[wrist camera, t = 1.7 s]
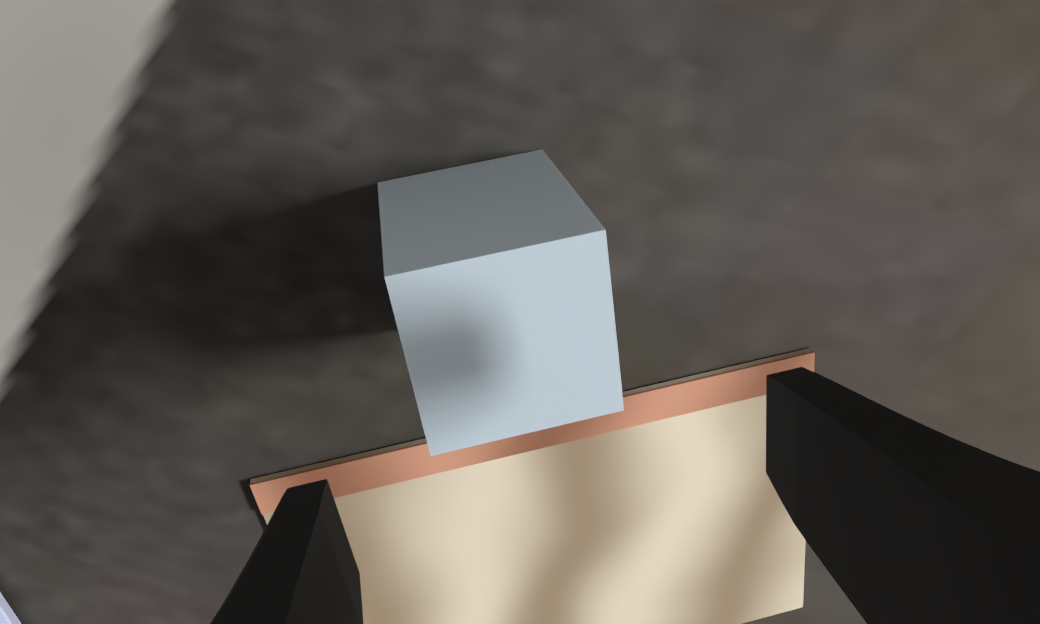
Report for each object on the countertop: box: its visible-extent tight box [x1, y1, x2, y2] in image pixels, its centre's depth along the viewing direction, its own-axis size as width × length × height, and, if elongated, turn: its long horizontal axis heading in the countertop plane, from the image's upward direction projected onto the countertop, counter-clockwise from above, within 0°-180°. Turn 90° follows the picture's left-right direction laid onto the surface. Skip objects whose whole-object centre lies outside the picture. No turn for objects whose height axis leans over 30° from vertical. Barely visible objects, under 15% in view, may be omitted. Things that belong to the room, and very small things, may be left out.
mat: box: [250, 348, 815, 624], centre depth 27 cm, size 18×12×1 cm, turn 98°
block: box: [377, 150, 624, 456], centre depth 19 cm, size 4×4×6 cm
